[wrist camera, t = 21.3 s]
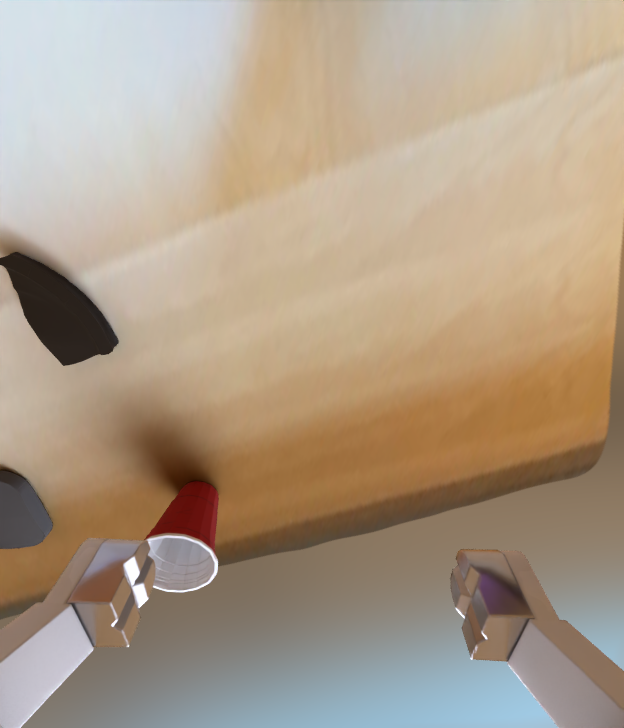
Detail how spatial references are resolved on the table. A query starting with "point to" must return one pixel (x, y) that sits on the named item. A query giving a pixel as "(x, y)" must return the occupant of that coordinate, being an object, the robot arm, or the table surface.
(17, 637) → the robot arm
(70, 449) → the table surface
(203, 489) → the plastic cup
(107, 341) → the black flat piece
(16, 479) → the media streaming box
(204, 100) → the table surface
